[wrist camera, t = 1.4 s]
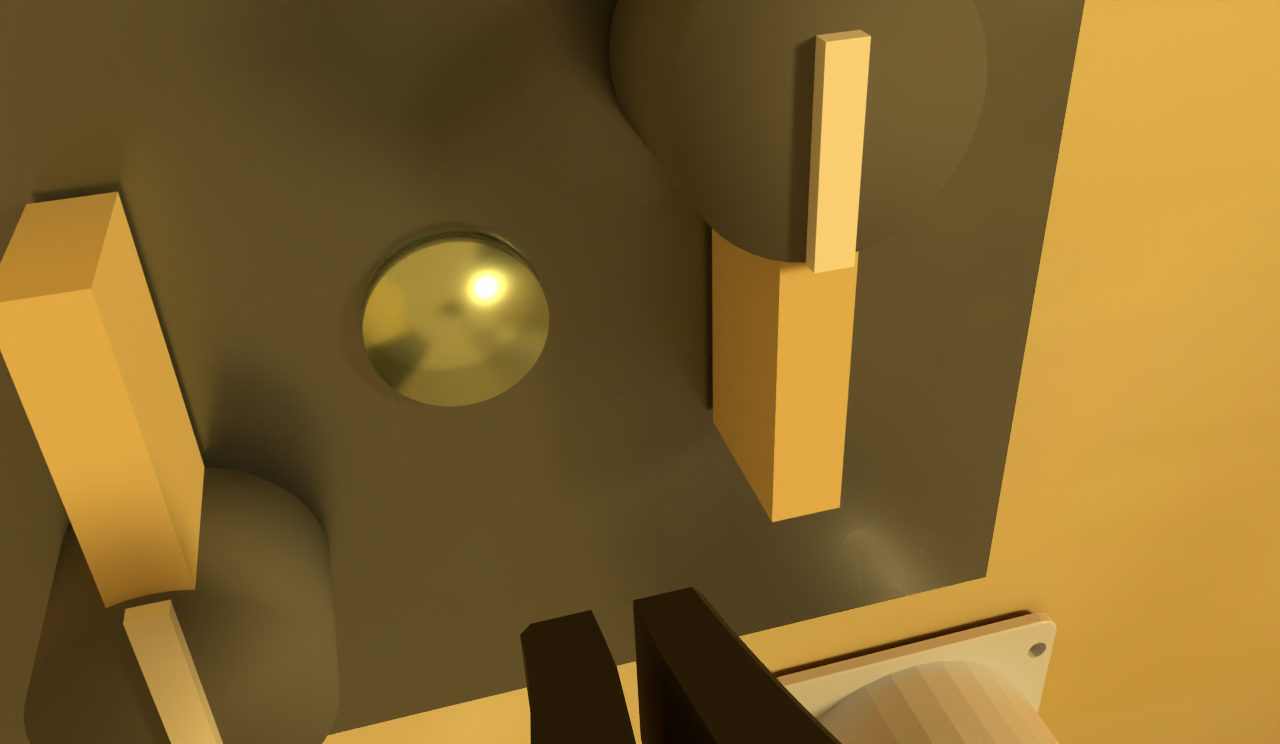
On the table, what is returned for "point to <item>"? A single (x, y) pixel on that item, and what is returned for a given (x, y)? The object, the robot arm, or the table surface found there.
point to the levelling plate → (502, 322)
